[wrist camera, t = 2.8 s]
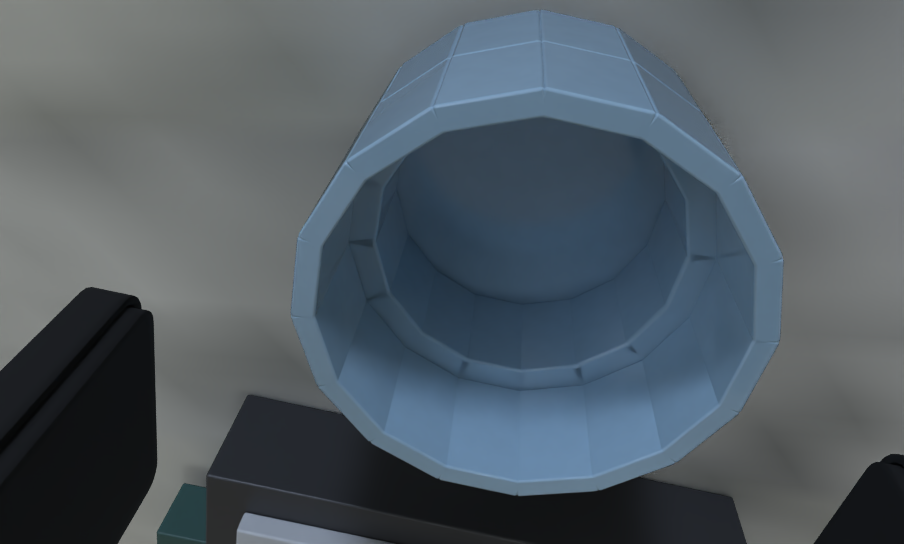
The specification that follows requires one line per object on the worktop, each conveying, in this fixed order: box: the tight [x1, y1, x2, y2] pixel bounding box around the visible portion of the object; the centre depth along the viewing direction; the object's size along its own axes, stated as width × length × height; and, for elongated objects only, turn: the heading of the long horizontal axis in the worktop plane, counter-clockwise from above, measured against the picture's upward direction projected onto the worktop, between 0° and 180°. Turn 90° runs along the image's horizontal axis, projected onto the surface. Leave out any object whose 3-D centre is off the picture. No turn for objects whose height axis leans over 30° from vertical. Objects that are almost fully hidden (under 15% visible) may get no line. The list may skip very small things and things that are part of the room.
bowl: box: [291, 10, 784, 496], centre depth 13 cm, size 7×7×6 cm
